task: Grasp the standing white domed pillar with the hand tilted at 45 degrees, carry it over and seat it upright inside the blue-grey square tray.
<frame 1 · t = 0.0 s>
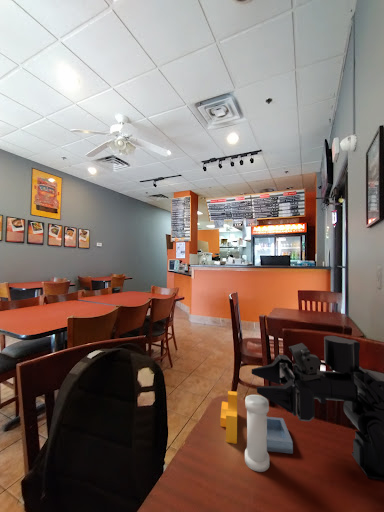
hand: (253, 379, 55), 17 cm above the table, tool horizontal, fingers open, 9 cm apart
blue-grey square tray: (268, 437, 60), on the table
pipe clamp: (228, 427, 64), on the table
white domed pillar: (256, 461, 52), on the table
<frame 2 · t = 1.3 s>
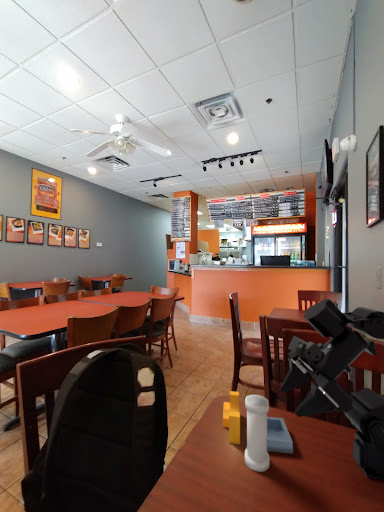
hand: (288, 402, 53), 13 cm above the table, tool tilted 45°, fingers open, 9 cm apart
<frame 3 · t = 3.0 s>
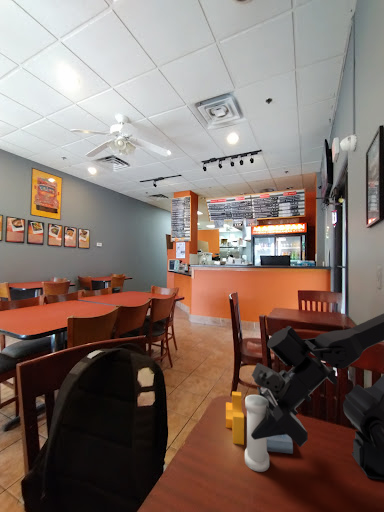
hand: (250, 430, 53), 7 cm above the table, tool tilted 45°, fingers closed on white domed pillar, 4 cm apart
white domed pillar: (256, 461, 52), on the table, touching gripper
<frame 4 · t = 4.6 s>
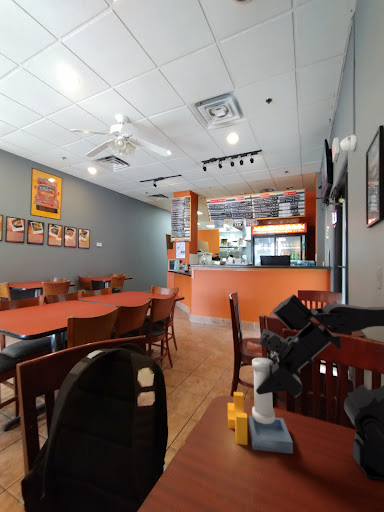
hand: (257, 387, 58), 13 cm above the table, tool tilted 45°, fingers closed on white domed pillar, 4 cm apart
white domed pillar: (263, 416, 57), point 7 cm above the table, touching gripper
when the fingers open (9 cm above the table, at t = 6.2 s): white domed pillar drops 2 cm, resting on blue-grey square tray.
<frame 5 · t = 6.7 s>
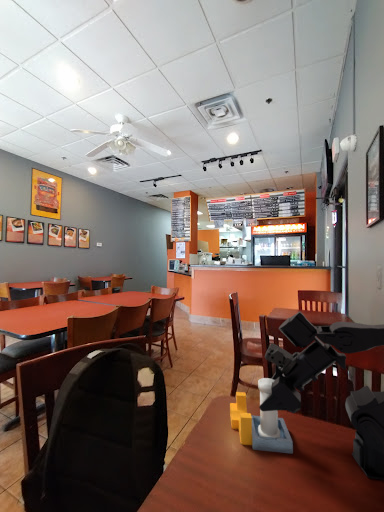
hand: (262, 399, 61), 9 cm above the table, tool tilted 45°, fingers open, 9 cm apart
white domed pillar: (269, 435, 60), point 1 cm above the table, touching blue-grey square tray
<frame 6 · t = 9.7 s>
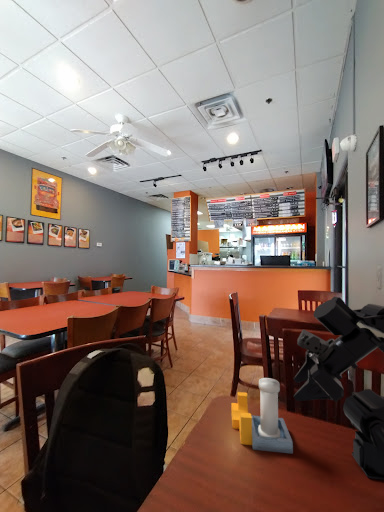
hand: (294, 389, 57), 14 cm above the table, tool tilted 45°, fingers open, 9 cm apart
at the end: white domed pillar 0.1 cm off-centre on the blue-grey square tray, point 0.5 cm above the blue-grey square tray's base; white domed pillar tilted 1°; the gripper is holding nothing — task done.
